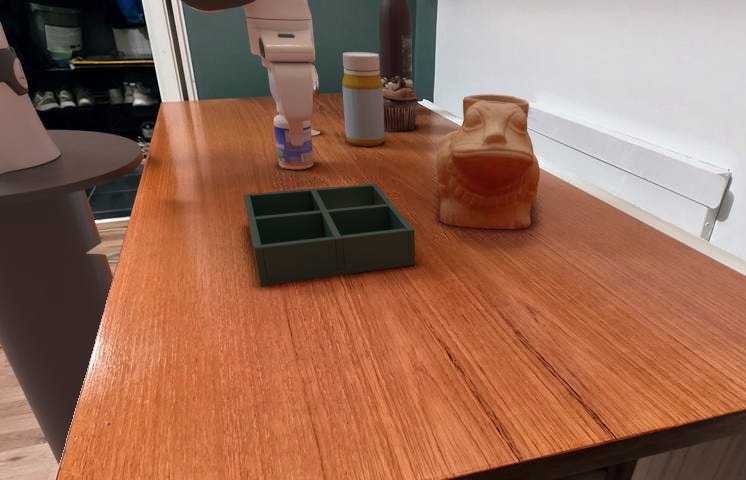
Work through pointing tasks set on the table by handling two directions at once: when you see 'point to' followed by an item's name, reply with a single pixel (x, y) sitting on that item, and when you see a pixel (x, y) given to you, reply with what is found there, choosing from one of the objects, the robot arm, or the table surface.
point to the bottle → (363, 99)
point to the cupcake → (399, 103)
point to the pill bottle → (286, 151)
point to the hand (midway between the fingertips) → (294, 139)
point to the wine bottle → (395, 38)
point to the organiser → (326, 233)
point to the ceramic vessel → (488, 166)
